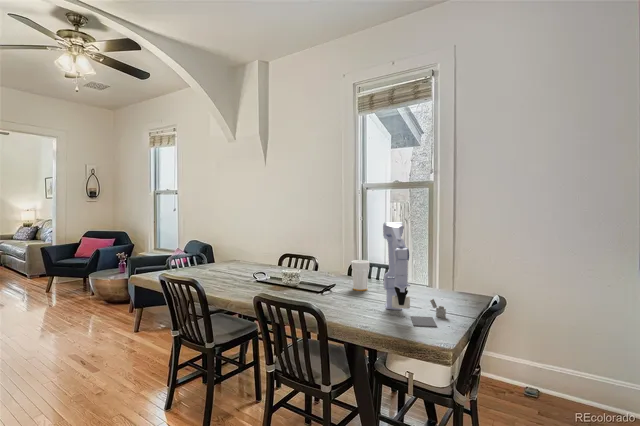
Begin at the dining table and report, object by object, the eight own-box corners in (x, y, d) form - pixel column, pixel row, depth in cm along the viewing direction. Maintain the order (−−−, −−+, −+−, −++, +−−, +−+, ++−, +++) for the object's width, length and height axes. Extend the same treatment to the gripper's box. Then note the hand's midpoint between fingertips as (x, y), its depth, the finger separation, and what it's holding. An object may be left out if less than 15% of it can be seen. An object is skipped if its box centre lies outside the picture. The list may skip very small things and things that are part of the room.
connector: (391, 306, 161) (391, 291, 161) (409, 306, 160) (409, 292, 160) (392, 308, 158) (392, 293, 158) (410, 308, 157) (410, 294, 157)
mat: (410, 317, 164) (410, 316, 164) (432, 318, 163) (432, 317, 163) (413, 326, 152) (413, 325, 152) (437, 327, 151) (437, 326, 151)
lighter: (445, 317, 164) (446, 300, 164) (444, 318, 163) (445, 301, 162) (430, 314, 168) (430, 298, 168) (429, 315, 167) (429, 299, 166)
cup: (373, 289, 215) (373, 261, 214) (359, 292, 208) (359, 263, 208) (361, 286, 224) (361, 259, 224) (347, 288, 218) (347, 261, 217)
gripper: (412, 278, 151) (411, 309, 151) (408, 271, 165) (408, 299, 165) (395, 277, 152) (395, 308, 152) (393, 271, 166) (393, 299, 166)
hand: (400, 303), depth 159 cm, fingers closed on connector, 3 cm apart
